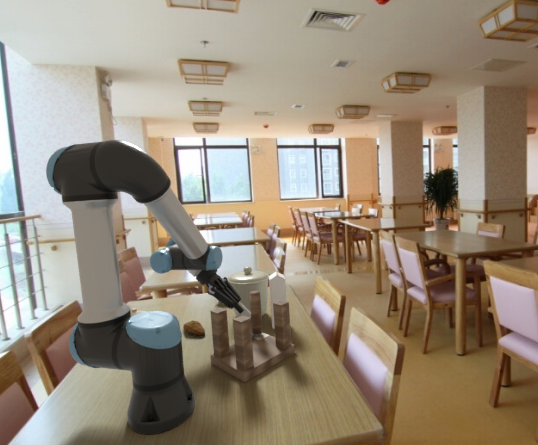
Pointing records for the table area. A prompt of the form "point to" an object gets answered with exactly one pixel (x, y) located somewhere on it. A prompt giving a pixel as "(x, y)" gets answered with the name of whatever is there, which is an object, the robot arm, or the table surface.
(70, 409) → the table surface
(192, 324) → the croissant
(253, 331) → the hinged leg
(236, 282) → the canister
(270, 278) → the milk
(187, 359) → the table surface
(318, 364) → the table surface
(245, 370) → the stool seat
